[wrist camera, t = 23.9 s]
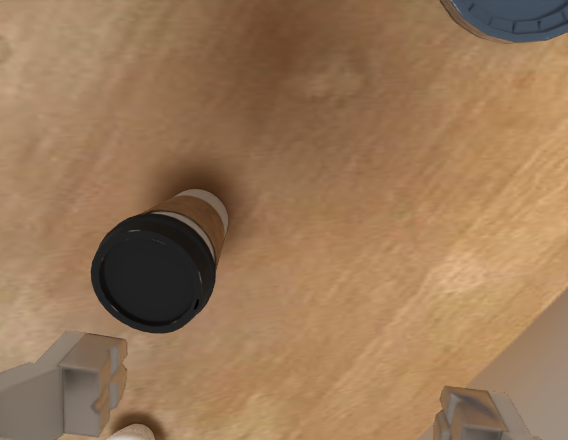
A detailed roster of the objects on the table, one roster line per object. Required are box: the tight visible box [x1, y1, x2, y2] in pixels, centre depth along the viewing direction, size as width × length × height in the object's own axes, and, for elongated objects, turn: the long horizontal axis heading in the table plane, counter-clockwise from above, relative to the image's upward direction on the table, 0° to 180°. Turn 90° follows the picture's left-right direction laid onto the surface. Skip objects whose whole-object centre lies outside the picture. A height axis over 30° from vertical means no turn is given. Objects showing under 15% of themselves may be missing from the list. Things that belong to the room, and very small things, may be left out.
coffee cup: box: [91, 189, 228, 333], centre depth 41 cm, size 8×8×15 cm
